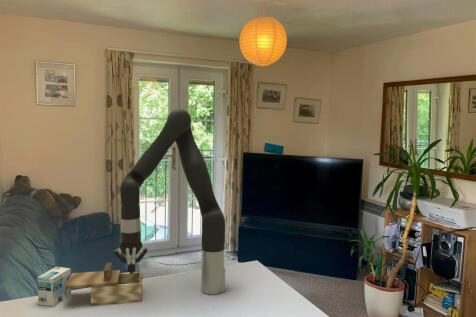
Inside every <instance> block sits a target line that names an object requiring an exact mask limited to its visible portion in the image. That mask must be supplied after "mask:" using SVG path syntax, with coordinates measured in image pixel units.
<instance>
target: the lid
mask: <svg viewBox="0 0 476 317" xmlns="http://www.w3.org/2000/svg"><path fill="white" fill-rule="evenodd" d="M112 265H113V264H112V262H106V263H105V266H104V269H103V270H99V271H85V272H83V271H82V272H71V276H70V278H69V280H68V282H67V284H66V286H65V289H71V290H72V289H81V288H91V287H97V286H110V285H118V280H119V275H120V273H121V270H120V269H116V270H115V269H113V266H112ZM112 269H113V270H112Z"/></svg>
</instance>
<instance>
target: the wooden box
mask: <svg viewBox="0 0 476 317" xmlns="http://www.w3.org/2000/svg"><path fill="white" fill-rule="evenodd" d="M142 297H143V271H135V272H134V273H131V274H130V272H128V271H127V272H120V275H119V280H118V285H110V286H97V287H90V306H91V307H94V306H95V307H96V306H107V305H119V304H121V305H122V304H129V303H130V304H131V303H141V302H143V301H142V300H143V298H142Z"/></svg>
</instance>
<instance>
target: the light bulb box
mask: <svg viewBox="0 0 476 317" xmlns="http://www.w3.org/2000/svg"><path fill="white" fill-rule="evenodd" d="M71 274H72V269H71V268H69V267H62V266H55V267H53V268H52V269H49V270H48V271H46V272H43V274H40V275H39V276H37V302H38V303H37V304H38V306H45V307H55V306H56V305H58V304H60V303H61V302H62V301H64V300H66V299H67V298H69V297H70V296H72V288H71V289H65V286H66V284H67V282H68V280H69V278H70V276H71Z"/></svg>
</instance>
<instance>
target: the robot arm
mask: <svg viewBox="0 0 476 317" xmlns="http://www.w3.org/2000/svg"><path fill="white" fill-rule="evenodd" d="M174 143H175V144H176V147H177V149H178V153H179V158H180V162H181V166H182V170H183V172H184V175H185V178H186V181H187V184H188V186H189V188H190V189H191V192H192V193H193V195H194V197H195V199H196V201H197V204H198V207H199V210H200V214H201V262H200V263H201V264H200V265H201V272H200V273H201V275H200V276H201V278H200V280H201V281H200V289H201V292H202V293H203V294H206V295H218V294H221V293H225V291H226V268H225V245H226V244H225V243H226V218H225V215H224V213H223V211H222V209H221V207H220V205H219V203H218V201H217V199H216V195H215V193H214V187H213V183H212V179H211V175H210V172H209V169H208V167H207V166H208V165H207V163H206V161H205V159H204V157H203V154H202V152H201V150H200V149H199V147H198V145H197V142H196V141H195V137H194V134H193V130H192V116H191V115H190V114H189V112H188V111H187V110H185V109H181V108H178V109H177V108H176V109H174V110H172V111H171V112H170V113H169V114H168V115H167V118H166V121H165V124H164V126H163V127H162V129H161V130H160V132H159V134H158V135H157V136H156V138H155V140H153V142H152V143H151V144H150V145H149V146H148V148H147V149H146V150H145V151H144V152H143V154H142V155H141V156H140V157H139V159H138V161H137V162H136V164H134V166H133V168H132V169H131V170H130V171H129V173H127V175H126V176H125V177H124V178H123V180H122V181H121V183H120V187H119V194H120V201H121V202H120V203H121V206H120V207H121V208H120V244H119V247H118V248H116V249H115V250H114V253H113V254H114V255H115V256H116V257H117V258H118V260H120V262H121V263H122V264H127V273H128V272H130V274H131V273H134V272H136V264H137V263H140V262H141V261H142V259H143V258H144V257H145V256H146V254H147V253H148V247H145V246H143V243H142V224H141V222H142V221H141V208H140V207H141V206H140V195H141V194H140V193H141V192H140V190H141V187H142V185H143V184H144V183H145V181H146V180H147V179H148V178H149V177H151V175H152V174H153V172H154V171H155V170H156V168H157V167H158V166H159V164H160V163H161V161H162V160H163V158H164V157H165V155H166V154H167V152H169V149H170V148H171V147H172V146H173V144H174ZM139 252H140V253H139ZM123 254H124V255H123ZM138 254H139V255H138ZM136 255H138V256H136ZM125 256H126V257H125ZM131 256H132V257H131Z"/></svg>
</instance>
